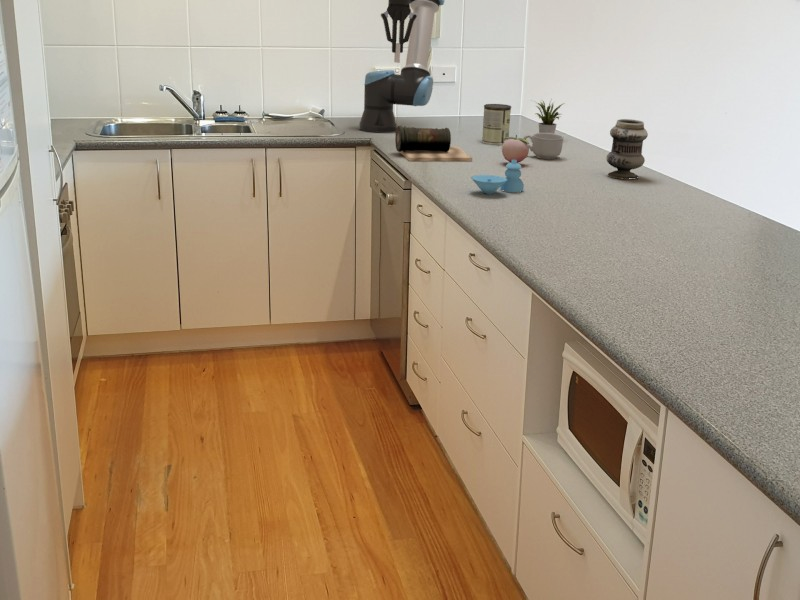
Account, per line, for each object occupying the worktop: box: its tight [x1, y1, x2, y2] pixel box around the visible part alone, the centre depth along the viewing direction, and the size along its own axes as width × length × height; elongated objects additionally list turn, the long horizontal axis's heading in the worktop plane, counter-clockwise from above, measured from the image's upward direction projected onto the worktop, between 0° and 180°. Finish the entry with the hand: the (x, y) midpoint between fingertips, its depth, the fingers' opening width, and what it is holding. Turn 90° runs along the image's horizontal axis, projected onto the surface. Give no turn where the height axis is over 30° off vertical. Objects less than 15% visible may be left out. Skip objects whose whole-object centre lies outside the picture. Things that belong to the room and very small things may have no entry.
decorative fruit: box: [501, 134, 530, 164], centre depth 306 cm, size 9×8×10 cm
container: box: [395, 125, 452, 153], centre depth 316 cm, size 9×9×18 cm
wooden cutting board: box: [399, 145, 473, 162], centre depth 318 cm, size 22×22×1 cm
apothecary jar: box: [605, 118, 649, 180], centre depth 292 cm, size 12×12×18 cm
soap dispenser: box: [470, 160, 525, 195], centre depth 265 cm, size 18×10×9 cm, turn 127°
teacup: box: [523, 132, 565, 160], centre depth 322 cm, size 14×11×8 cm
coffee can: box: [481, 103, 512, 146], centre depth 346 cm, size 10×10×14 cm
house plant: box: [530, 98, 566, 134], centre depth 357 cm, size 14×14×16 cm
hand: (396, 62), depth 328 cm, fingers closed
